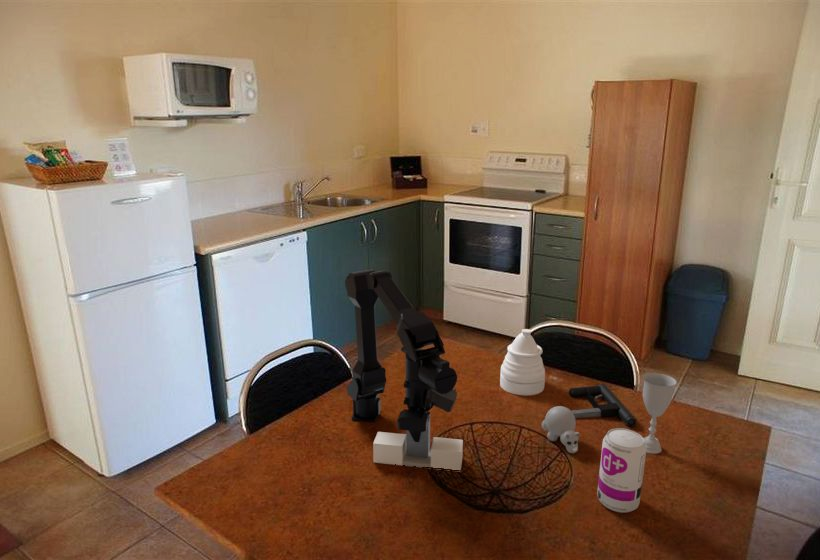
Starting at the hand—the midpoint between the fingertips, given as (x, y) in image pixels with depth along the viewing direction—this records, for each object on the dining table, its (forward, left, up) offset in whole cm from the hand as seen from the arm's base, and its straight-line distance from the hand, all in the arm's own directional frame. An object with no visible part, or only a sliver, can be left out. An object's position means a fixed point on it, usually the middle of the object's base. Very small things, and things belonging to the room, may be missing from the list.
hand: (418, 437), depth 130 cm
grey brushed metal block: (0, 0, -4) cm, 4 cm away
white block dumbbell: (0, 0, -6) cm, 6 cm away
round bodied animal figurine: (+33, +13, -6) cm, 36 cm away
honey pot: (+24, +43, -6) cm, 50 cm away
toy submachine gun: (+44, +32, -7) cm, 54 cm away
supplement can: (+43, -7, -6) cm, 44 cm away
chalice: (+54, +15, -6) cm, 56 cm away
